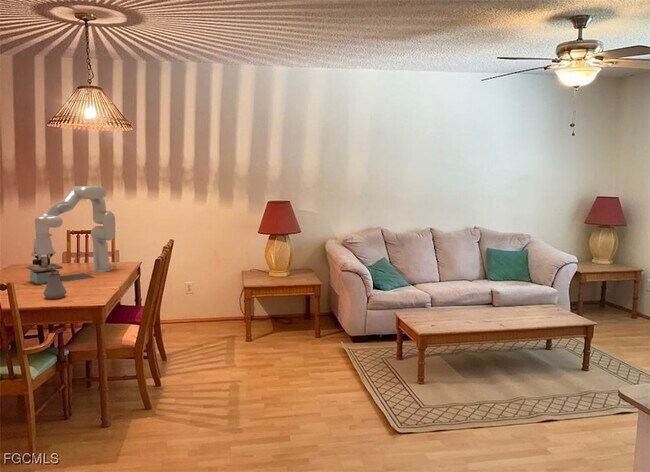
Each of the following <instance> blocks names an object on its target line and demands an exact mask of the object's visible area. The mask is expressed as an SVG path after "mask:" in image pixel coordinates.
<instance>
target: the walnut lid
mask: <svg viewBox="0 0 650 472" xmlns="http://www.w3.org/2000/svg"><path fill="white" fill-rule="evenodd" d="M40 259H41V262H42V266H39V265H34V266H33V265H27V266H25V267H26V269H27V270H29V271H30V270H32V271H34V272H38V271H47V270H51V268H50V267H53V268H54V269H53V270H62V269H63V268H64V267H63V266H61V265H58V264H56V263H54V262H53V263H50V265H48V259H47V256H41V258H40ZM49 268H50V269H49Z"/></svg>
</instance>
